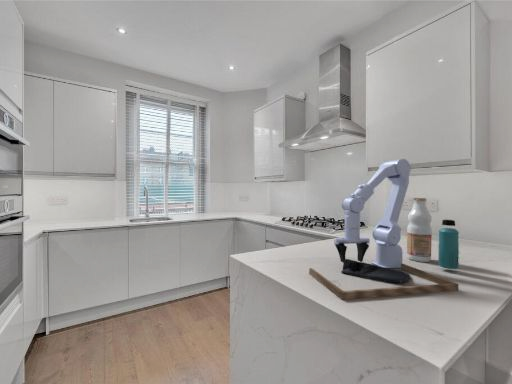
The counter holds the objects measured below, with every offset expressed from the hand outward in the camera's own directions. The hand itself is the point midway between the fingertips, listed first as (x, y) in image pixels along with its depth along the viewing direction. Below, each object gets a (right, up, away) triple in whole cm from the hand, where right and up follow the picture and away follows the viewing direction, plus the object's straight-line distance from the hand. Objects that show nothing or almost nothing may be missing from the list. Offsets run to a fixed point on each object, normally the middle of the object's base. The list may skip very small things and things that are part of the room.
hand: (351, 261), depth 102 cm
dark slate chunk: (+6, -3, -8) cm, 10 cm away
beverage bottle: (+37, -3, -2) cm, 37 cm away
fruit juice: (+36, -3, +14) cm, 39 cm away
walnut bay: (+3, -3, -15) cm, 16 cm away
